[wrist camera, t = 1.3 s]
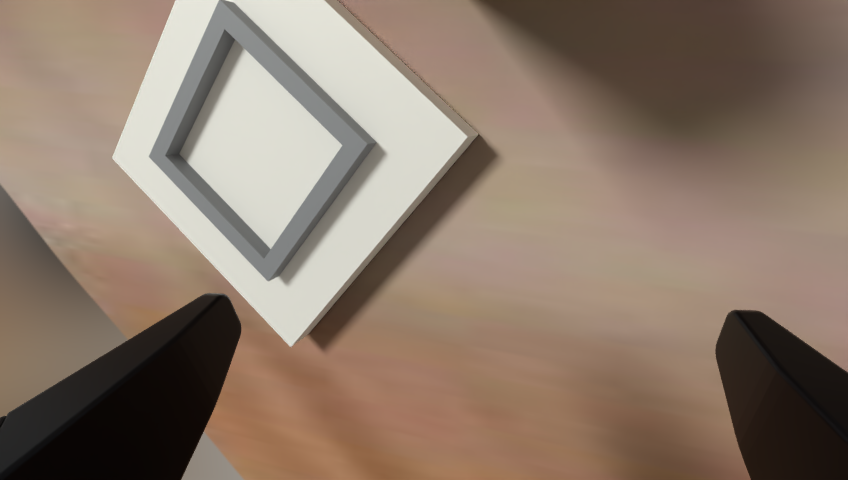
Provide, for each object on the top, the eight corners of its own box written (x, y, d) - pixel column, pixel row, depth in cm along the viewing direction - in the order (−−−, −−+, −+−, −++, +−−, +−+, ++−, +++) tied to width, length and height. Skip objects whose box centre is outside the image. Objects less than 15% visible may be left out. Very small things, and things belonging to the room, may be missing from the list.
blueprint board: (478, 134, 19) (461, 138, 17) (308, 334, 25) (280, 354, 23) (243, -89, 20) (200, -110, 18) (137, 155, 26) (97, 159, 24)
